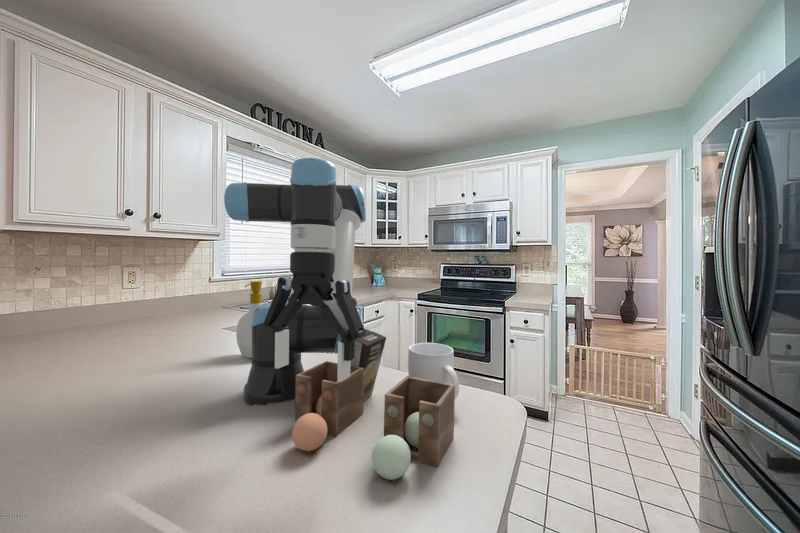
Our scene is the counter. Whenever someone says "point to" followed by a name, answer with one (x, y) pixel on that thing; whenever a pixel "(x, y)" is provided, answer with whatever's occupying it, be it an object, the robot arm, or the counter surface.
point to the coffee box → (369, 358)
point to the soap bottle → (248, 321)
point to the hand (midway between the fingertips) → (311, 372)
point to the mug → (433, 363)
